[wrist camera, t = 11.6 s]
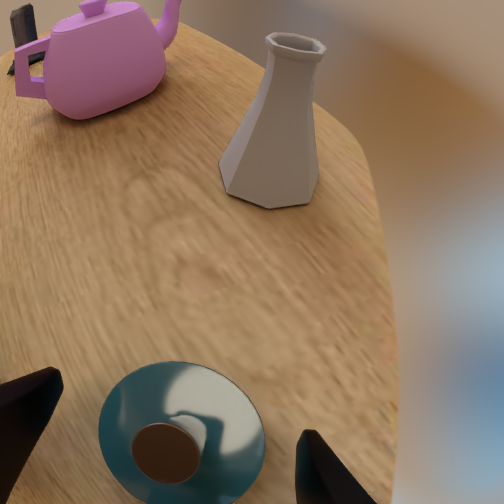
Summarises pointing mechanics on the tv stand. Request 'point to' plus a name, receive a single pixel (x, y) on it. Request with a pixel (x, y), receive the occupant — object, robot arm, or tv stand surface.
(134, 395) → the lid
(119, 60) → the teapot
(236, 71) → the tv stand surface
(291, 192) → the flask
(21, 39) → the beverage can
